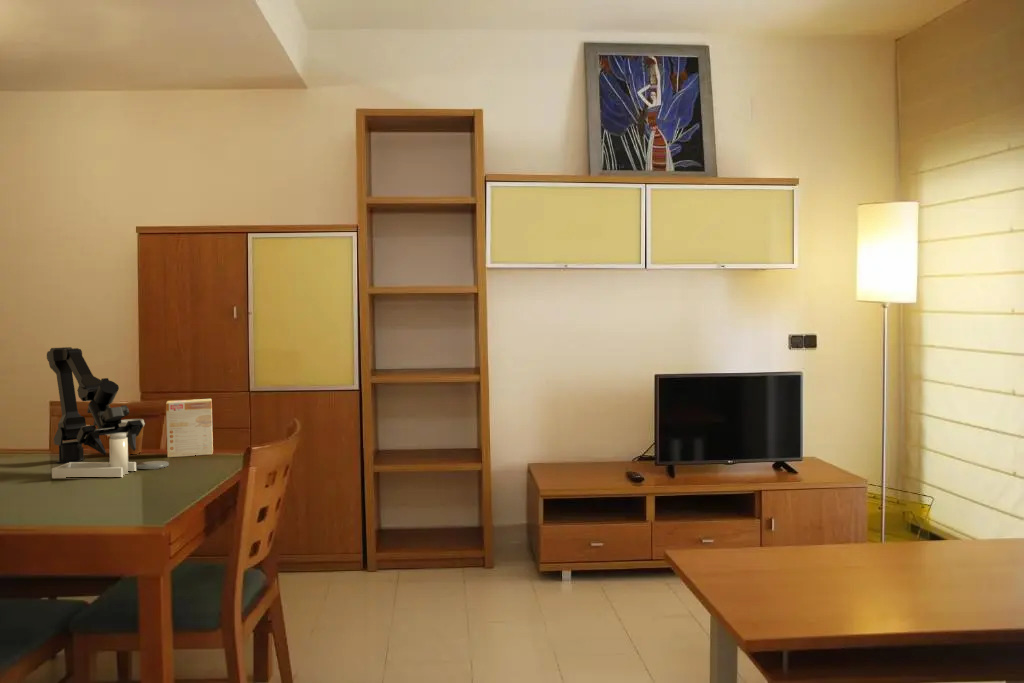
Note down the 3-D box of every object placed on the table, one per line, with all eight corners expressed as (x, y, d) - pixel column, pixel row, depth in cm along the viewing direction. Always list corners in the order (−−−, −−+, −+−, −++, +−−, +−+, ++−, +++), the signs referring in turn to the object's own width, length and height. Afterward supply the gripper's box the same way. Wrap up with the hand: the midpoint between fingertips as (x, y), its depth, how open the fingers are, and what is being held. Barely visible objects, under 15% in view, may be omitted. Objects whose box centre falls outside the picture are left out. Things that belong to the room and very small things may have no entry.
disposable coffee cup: (137, 456, 281) (137, 422, 281) (111, 456, 281) (110, 422, 281) (150, 451, 291) (149, 418, 290) (124, 451, 291) (124, 418, 290)
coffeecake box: (213, 451, 290) (212, 398, 289) (212, 454, 283) (211, 400, 283) (168, 454, 285) (167, 400, 284) (167, 457, 278) (165, 402, 278)
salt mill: (106, 476, 248) (105, 434, 247) (115, 473, 253) (113, 432, 252) (123, 476, 248) (122, 434, 247) (131, 472, 253) (130, 432, 252)
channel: (52, 478, 245) (51, 468, 245) (69, 471, 255) (69, 462, 255) (121, 477, 245) (121, 468, 245) (136, 471, 255) (136, 461, 255)
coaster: (129, 470, 257) (129, 466, 257) (143, 463, 267) (143, 461, 267) (160, 469, 257) (160, 466, 257) (173, 463, 267) (173, 460, 267)
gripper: (79, 400, 245) (97, 439, 238) (139, 395, 259) (157, 431, 253) (69, 423, 250) (86, 462, 243) (128, 417, 265) (146, 453, 258)
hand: (120, 452), depth 249 cm, fingers open, 9 cm apart
